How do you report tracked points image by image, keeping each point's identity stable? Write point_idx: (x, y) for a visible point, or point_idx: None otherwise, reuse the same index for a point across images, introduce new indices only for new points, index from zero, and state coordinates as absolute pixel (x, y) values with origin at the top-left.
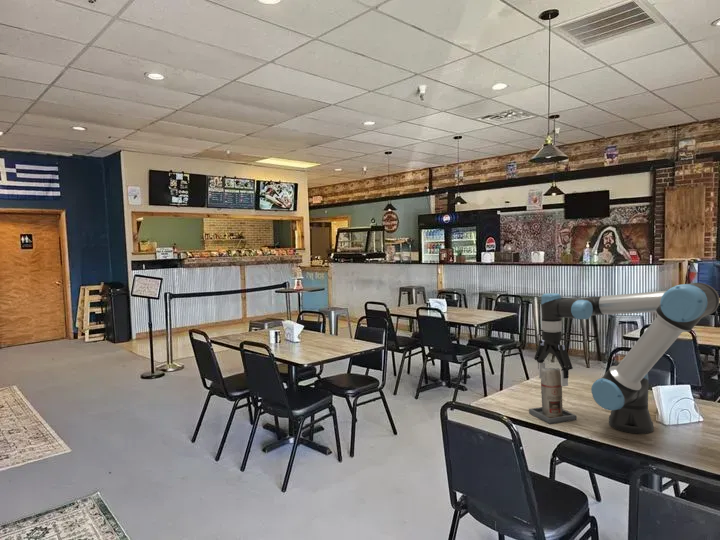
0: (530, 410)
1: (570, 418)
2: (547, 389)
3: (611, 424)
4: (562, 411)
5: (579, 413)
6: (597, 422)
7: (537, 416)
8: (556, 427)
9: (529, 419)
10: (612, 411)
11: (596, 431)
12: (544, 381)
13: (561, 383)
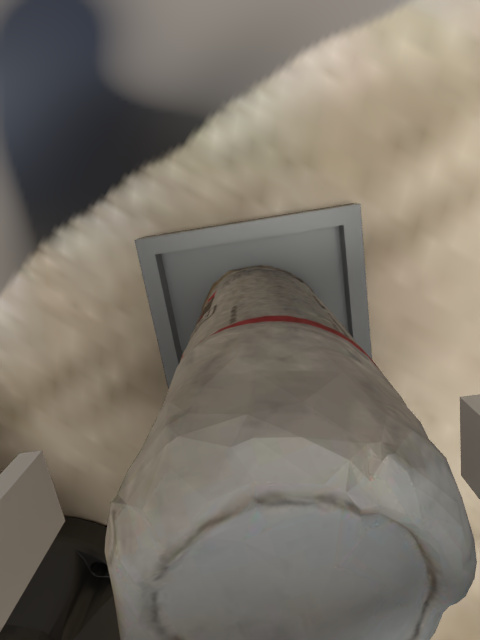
0: (341, 207)
1: None
2: (206, 333)
3: (64, 525)
4: None
5: None
6: None
7: (260, 218)
8: (90, 250)
9: (246, 148)
10: (57, 596)
11: (21, 421)
12: (229, 345)
13: (14, 473)
